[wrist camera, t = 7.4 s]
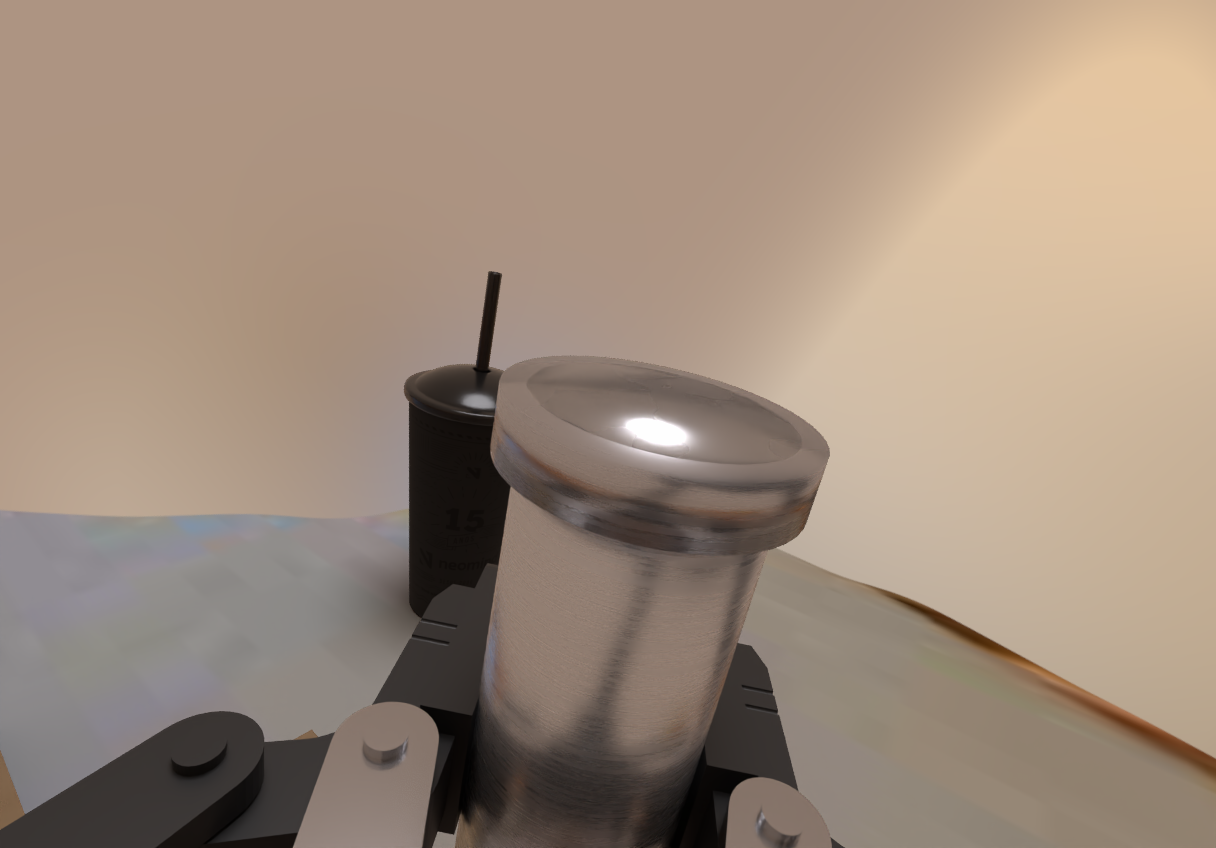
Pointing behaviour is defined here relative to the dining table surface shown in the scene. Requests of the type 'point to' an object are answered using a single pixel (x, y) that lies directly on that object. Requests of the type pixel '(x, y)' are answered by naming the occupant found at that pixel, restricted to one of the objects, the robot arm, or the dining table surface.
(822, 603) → the dining table surface
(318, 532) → the dining table surface
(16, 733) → the dining table surface
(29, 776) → the dining table surface
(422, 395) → the drinking cup
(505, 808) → the hinge pin
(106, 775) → the robot arm
